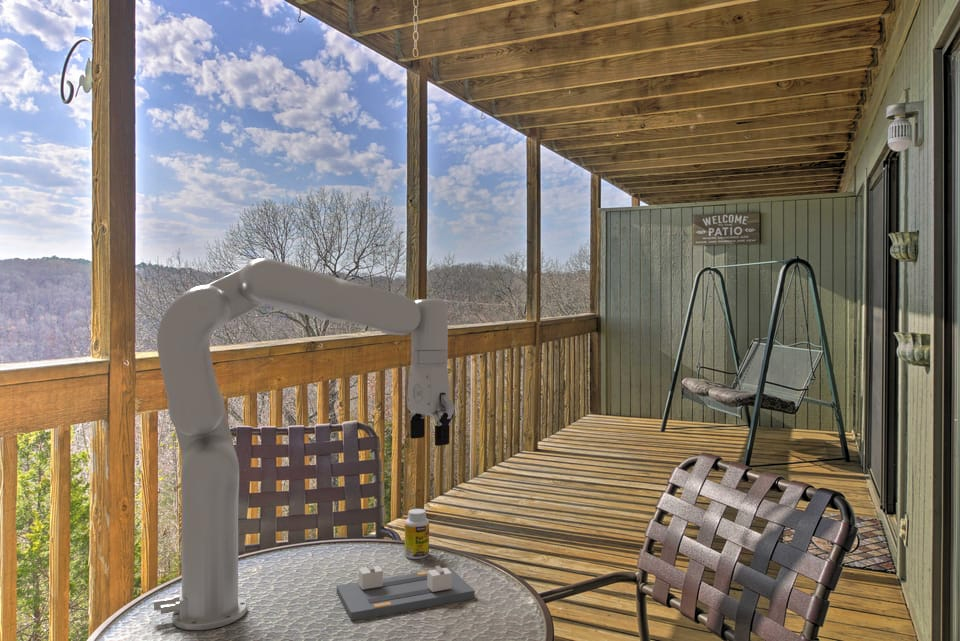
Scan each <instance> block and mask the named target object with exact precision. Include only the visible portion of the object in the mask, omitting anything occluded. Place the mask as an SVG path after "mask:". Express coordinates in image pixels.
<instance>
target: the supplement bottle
mask: <svg viewBox="0 0 960 641" xmlns="http://www.w3.org/2000/svg"><path fill="white" fill-rule="evenodd" d="M429 554H430V519H428V518H427V511H426V510H425V509H424V508H413V509H409V510H408V514H407V518H406V519H405V521H404V556H405V557H406V558H407V559H410V560H421V559H425V558H426V557H428V556H429Z"/></svg>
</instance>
